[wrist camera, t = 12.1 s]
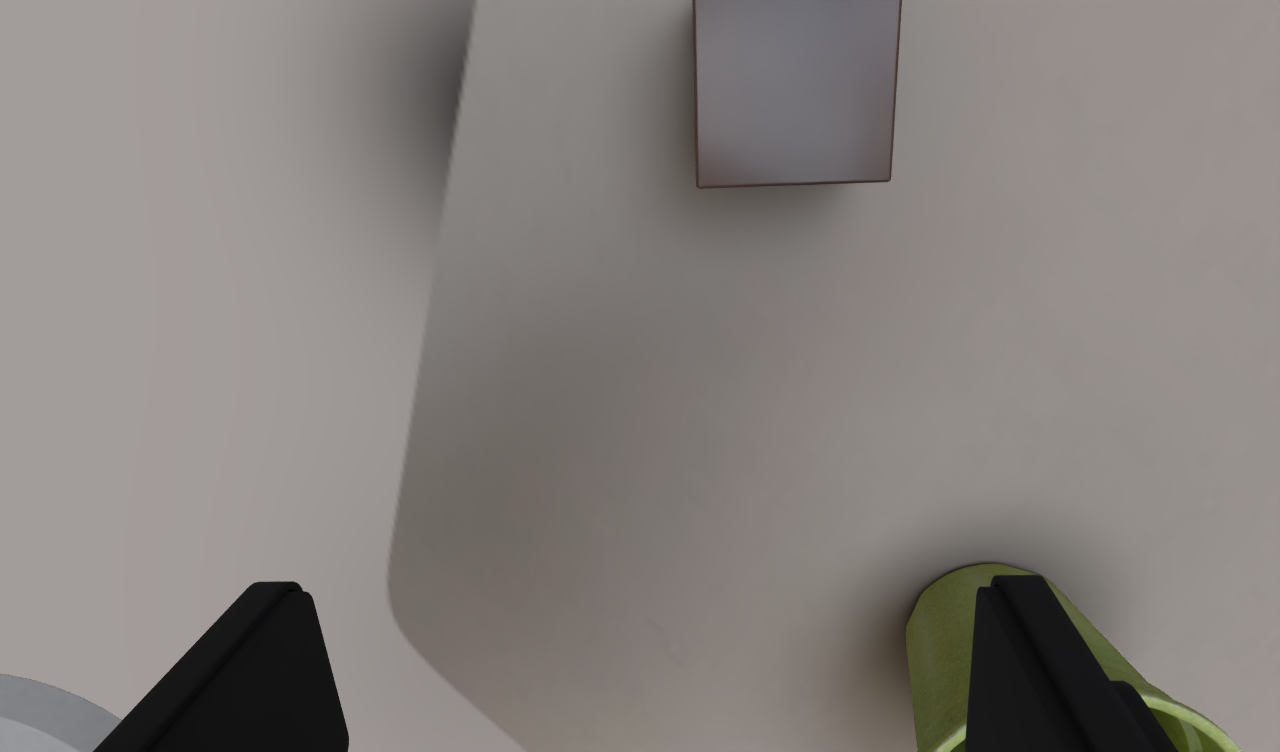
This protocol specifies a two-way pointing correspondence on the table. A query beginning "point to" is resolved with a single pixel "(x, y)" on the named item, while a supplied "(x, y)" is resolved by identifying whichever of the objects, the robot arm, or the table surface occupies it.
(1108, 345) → the table surface
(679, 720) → the table surface
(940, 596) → the plant pot
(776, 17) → the walnut block
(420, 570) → the table surface
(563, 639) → the table surface
